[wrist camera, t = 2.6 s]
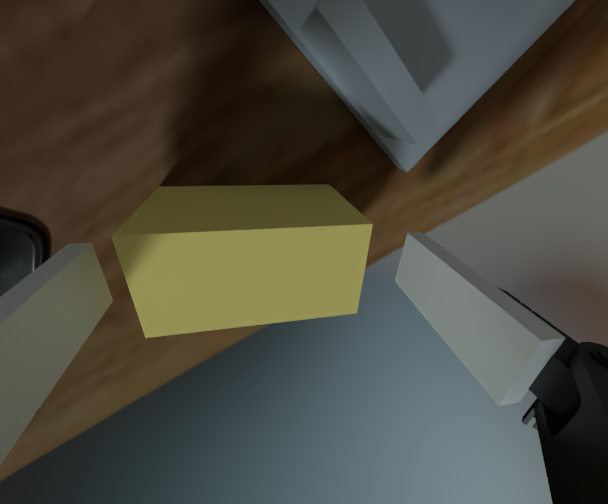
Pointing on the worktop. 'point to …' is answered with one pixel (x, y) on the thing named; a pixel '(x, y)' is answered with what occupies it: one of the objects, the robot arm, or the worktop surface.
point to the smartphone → (19, 251)
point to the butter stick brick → (242, 256)
